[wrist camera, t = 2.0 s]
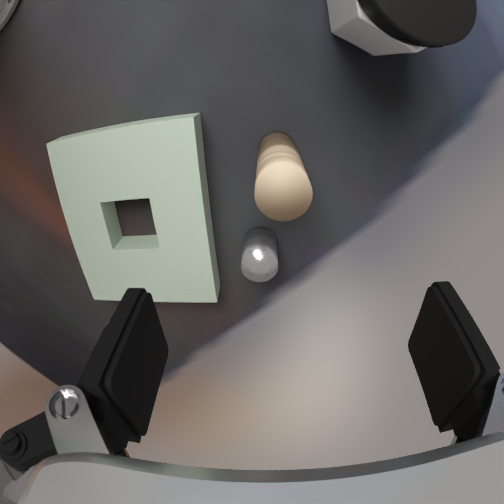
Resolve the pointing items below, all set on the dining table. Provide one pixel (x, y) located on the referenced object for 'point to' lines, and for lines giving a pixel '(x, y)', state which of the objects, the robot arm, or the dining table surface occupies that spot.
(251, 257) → the steel pin
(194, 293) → the hole board
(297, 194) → the birch pin
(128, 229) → the dining table surface
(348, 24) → the jar
